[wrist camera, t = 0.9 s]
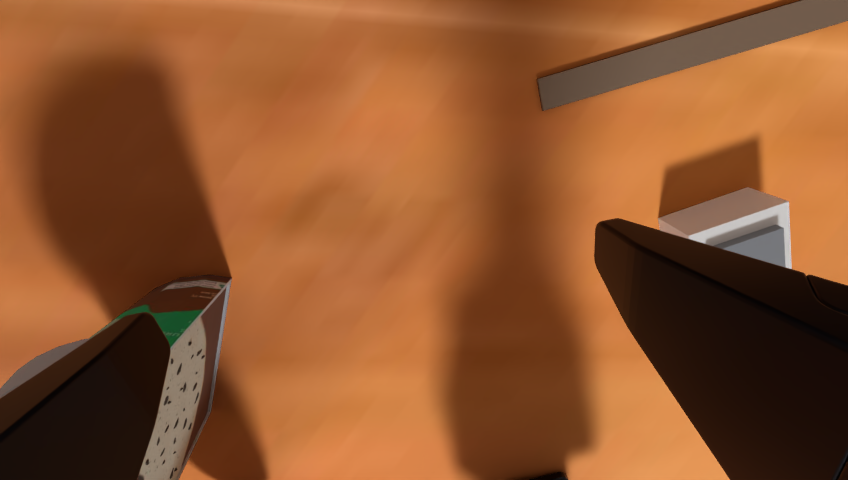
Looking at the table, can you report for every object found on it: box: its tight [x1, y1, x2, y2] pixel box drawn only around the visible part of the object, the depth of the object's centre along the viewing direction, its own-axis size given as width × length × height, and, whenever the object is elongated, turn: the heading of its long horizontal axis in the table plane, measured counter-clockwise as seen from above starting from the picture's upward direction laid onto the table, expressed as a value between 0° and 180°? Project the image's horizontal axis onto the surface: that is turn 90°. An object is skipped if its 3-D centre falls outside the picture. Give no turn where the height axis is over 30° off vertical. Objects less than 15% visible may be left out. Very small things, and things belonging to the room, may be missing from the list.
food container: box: [0, 275, 232, 480], centre depth 21 cm, size 12×6×10 cm, turn 164°
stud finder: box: [658, 187, 792, 269], centre depth 25 cm, size 8×5×4 cm, turn 20°
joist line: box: [537, 0, 848, 111], centre depth 22 cm, size 2×16×1 cm, turn 106°
